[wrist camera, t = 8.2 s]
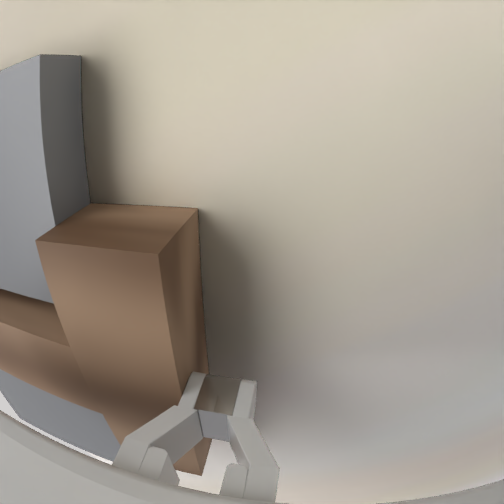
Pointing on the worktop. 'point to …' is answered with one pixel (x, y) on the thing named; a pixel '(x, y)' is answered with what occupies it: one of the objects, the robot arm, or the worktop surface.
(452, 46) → the worktop surface
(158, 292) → the t block
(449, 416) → the worktop surface
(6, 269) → the dock
